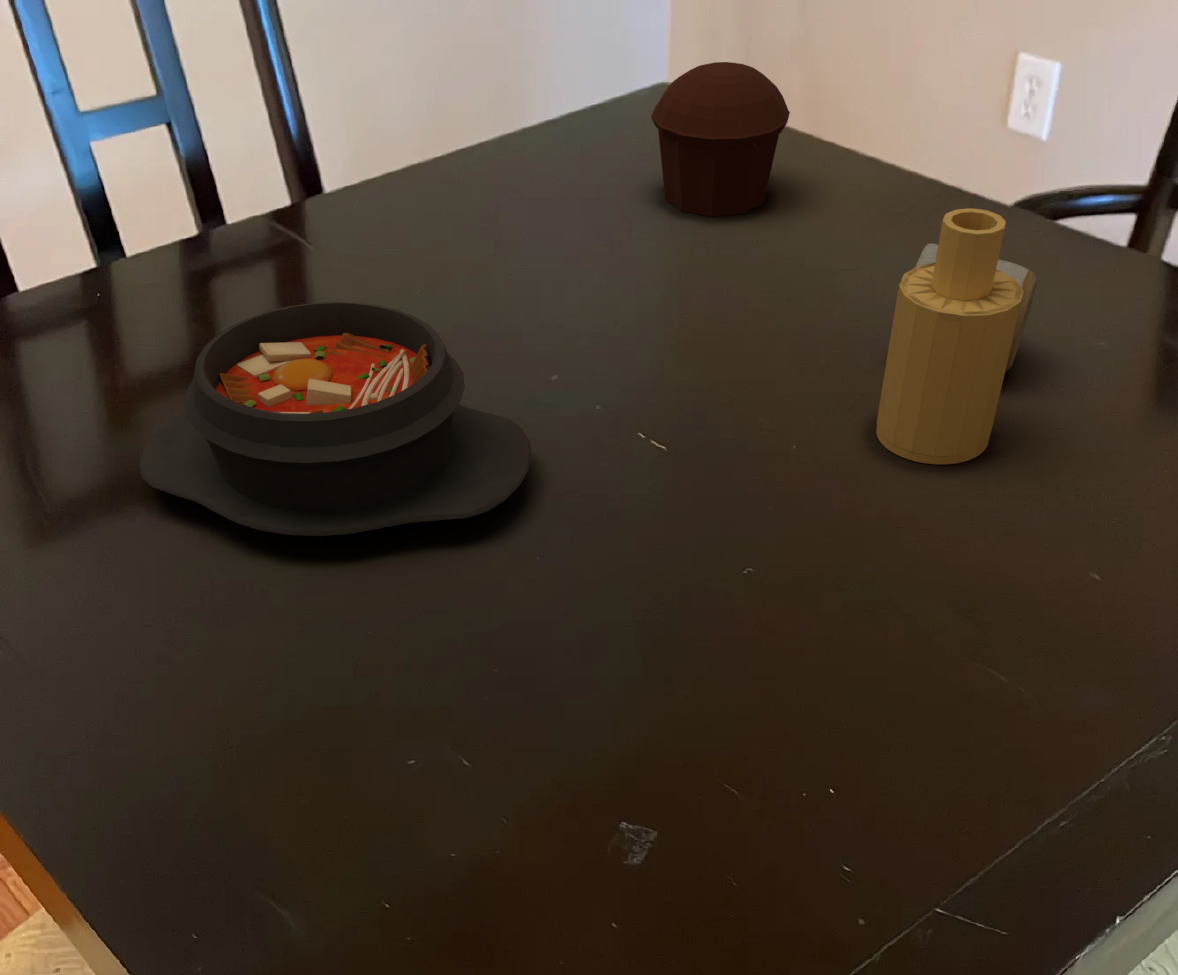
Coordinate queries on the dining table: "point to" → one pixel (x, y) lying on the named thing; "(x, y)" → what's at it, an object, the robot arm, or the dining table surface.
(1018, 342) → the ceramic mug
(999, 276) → the bottle
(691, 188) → the muffin
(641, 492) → the dining table surface
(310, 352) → the casserole
